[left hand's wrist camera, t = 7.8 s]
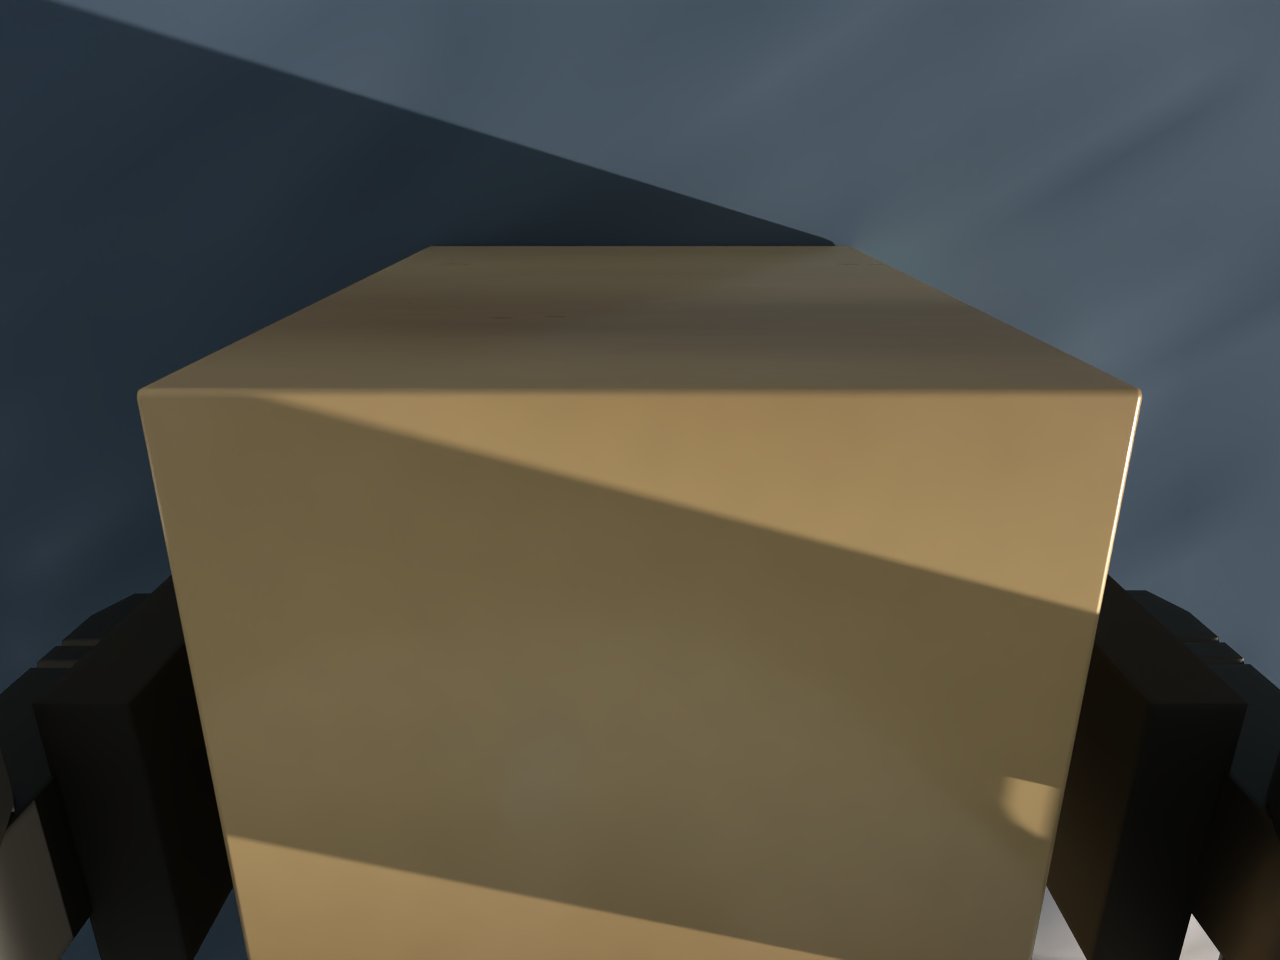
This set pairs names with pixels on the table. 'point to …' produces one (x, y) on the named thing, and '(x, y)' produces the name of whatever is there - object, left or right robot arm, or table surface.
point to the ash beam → (639, 607)
